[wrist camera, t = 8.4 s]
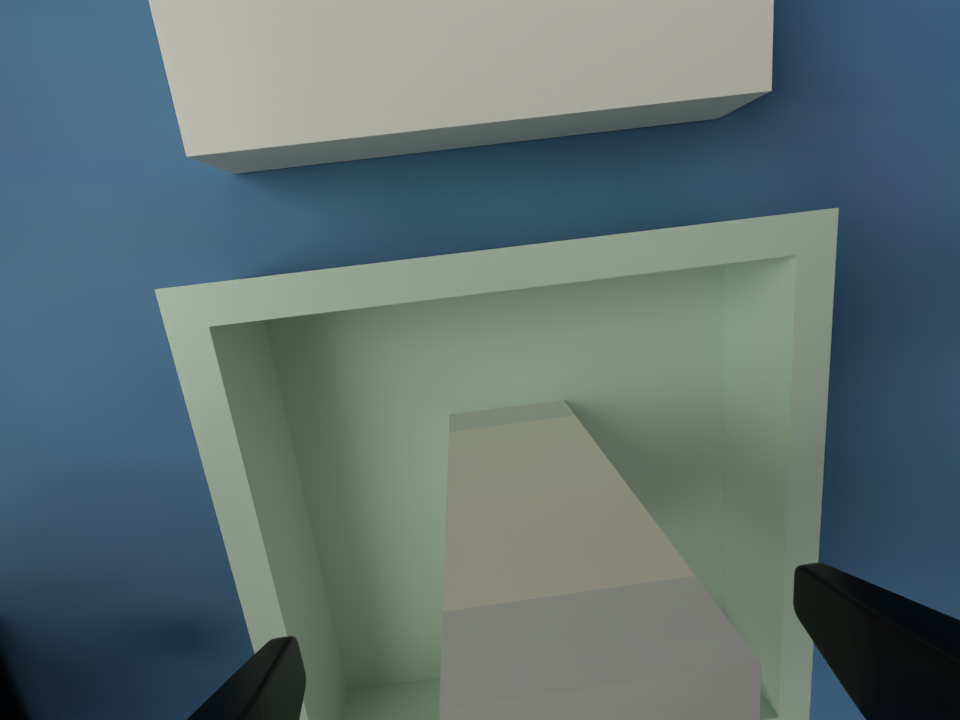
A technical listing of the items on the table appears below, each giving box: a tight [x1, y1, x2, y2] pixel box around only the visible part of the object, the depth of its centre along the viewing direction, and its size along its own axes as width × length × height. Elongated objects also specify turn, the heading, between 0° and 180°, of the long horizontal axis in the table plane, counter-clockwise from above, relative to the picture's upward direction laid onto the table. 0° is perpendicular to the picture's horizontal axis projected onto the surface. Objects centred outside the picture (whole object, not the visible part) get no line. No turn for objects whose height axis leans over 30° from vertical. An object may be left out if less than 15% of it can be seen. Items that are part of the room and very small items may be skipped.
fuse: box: [439, 400, 761, 720], centre depth 9 cm, size 5×3×8 cm, turn 7°
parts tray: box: [155, 208, 839, 720], centre depth 12 cm, size 13×13×3 cm
